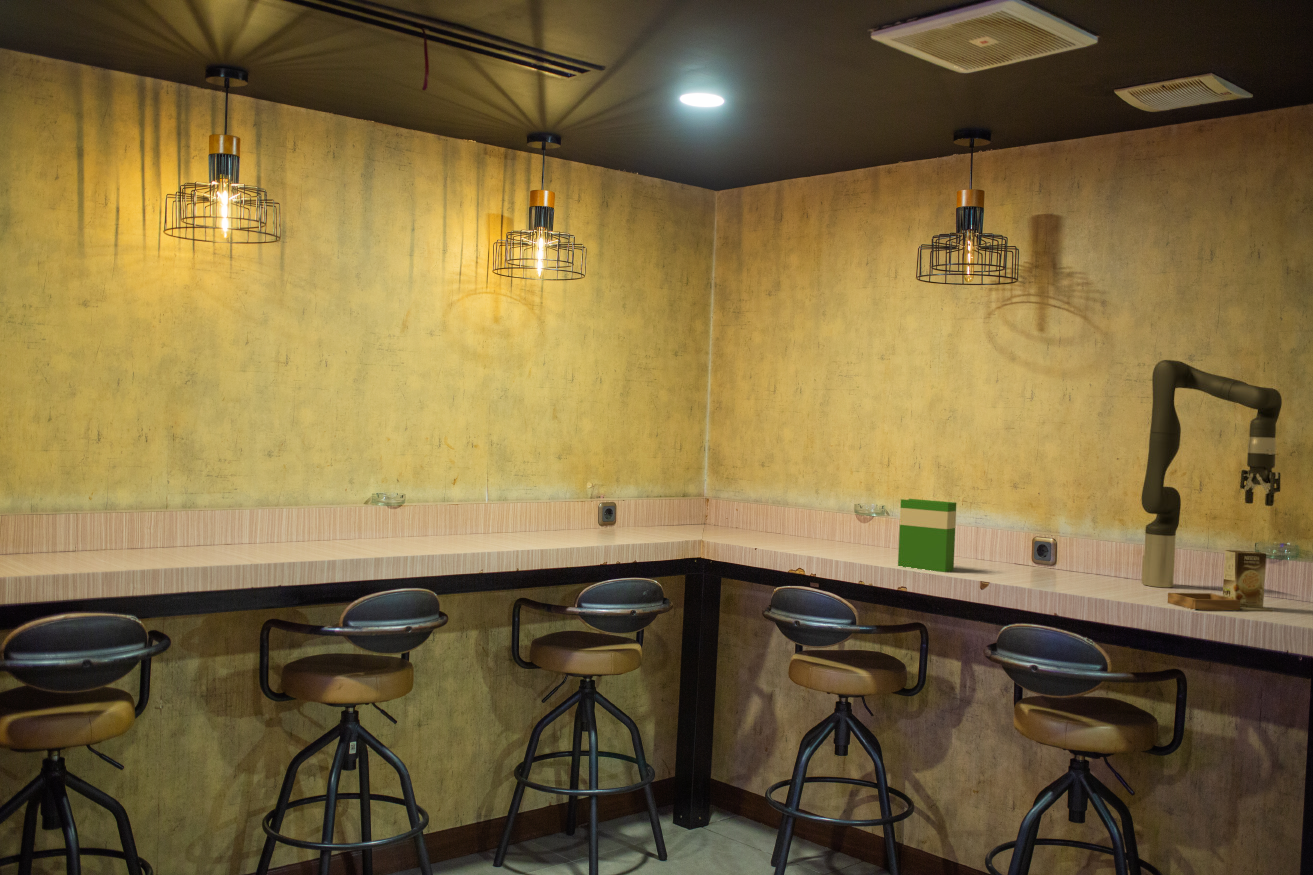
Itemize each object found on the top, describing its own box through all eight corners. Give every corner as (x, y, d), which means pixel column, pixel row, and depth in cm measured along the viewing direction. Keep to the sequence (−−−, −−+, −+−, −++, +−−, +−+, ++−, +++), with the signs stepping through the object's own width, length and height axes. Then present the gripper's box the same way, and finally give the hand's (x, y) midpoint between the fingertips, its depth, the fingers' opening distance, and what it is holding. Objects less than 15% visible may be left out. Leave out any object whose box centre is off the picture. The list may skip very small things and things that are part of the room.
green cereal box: (897, 566, 382) (900, 499, 382) (906, 564, 388) (909, 498, 387) (945, 572, 371) (948, 503, 371) (953, 570, 377) (956, 502, 377)
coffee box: (1234, 606, 316) (1236, 552, 315) (1221, 602, 322) (1224, 549, 322) (1264, 607, 316) (1266, 553, 316) (1250, 603, 323) (1253, 550, 322)
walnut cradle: (1167, 602, 322) (1168, 592, 322) (1210, 603, 324) (1211, 593, 324) (1194, 610, 309) (1195, 599, 309) (1239, 610, 312) (1239, 600, 312)
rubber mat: (1212, 602, 324) (1212, 601, 324) (1241, 603, 326) (1241, 601, 326) (1242, 610, 312) (1242, 609, 312) (1273, 611, 313) (1273, 609, 313)
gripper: (1234, 450, 336) (1231, 502, 337) (1267, 452, 322) (1264, 506, 323) (1255, 451, 338) (1253, 503, 338) (1289, 453, 324) (1286, 507, 324)
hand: (1258, 504), depth 330 cm, fingers open, 8 cm apart
